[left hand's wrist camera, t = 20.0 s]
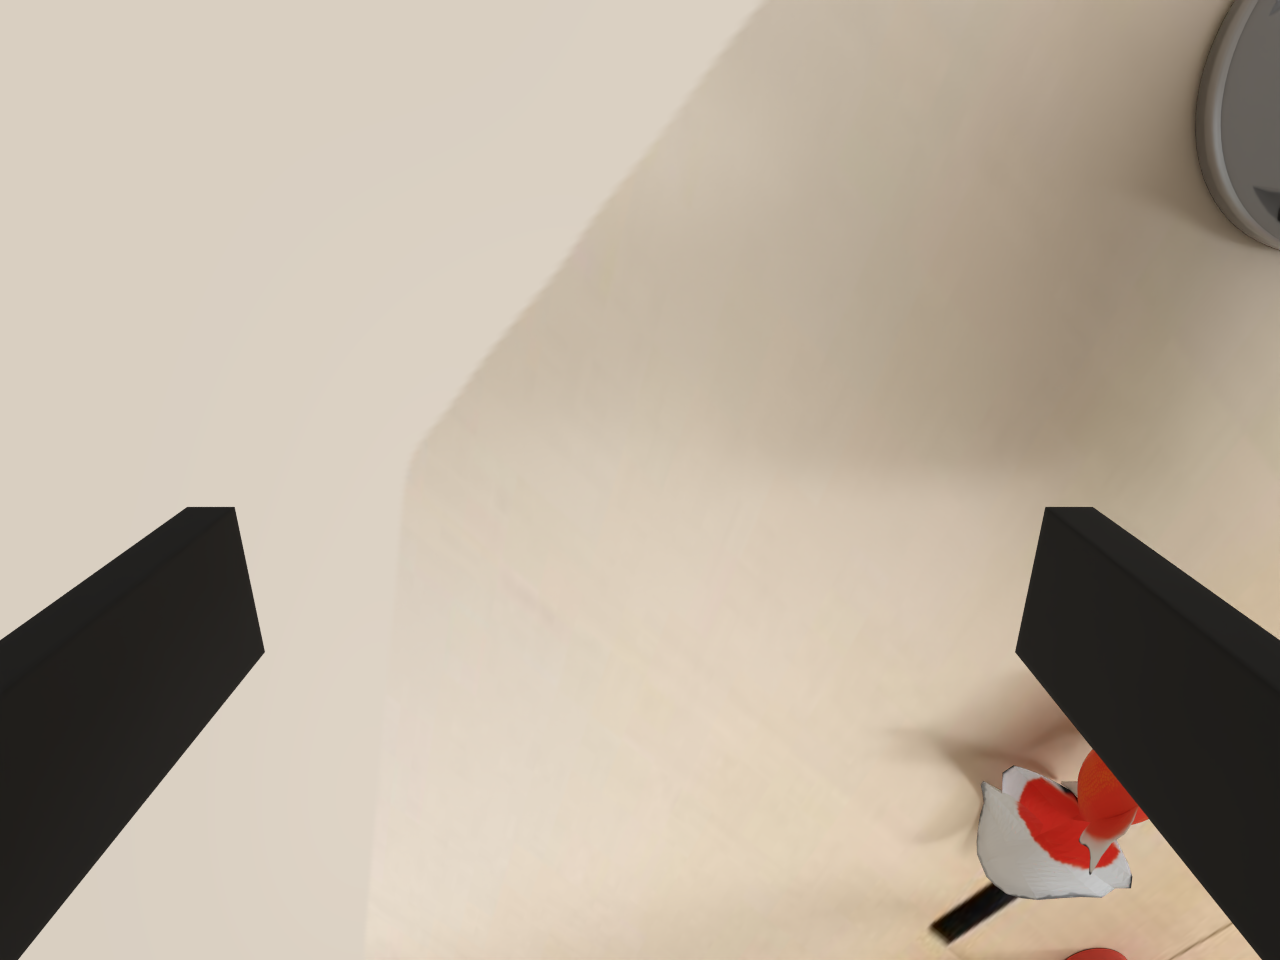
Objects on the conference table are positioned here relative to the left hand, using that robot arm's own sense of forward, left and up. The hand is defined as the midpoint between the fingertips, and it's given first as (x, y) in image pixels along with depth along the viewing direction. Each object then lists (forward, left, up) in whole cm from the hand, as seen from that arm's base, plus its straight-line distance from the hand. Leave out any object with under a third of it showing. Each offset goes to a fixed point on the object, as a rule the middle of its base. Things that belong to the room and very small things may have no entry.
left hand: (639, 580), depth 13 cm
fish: (+33, +20, -28) cm, 48 cm away
